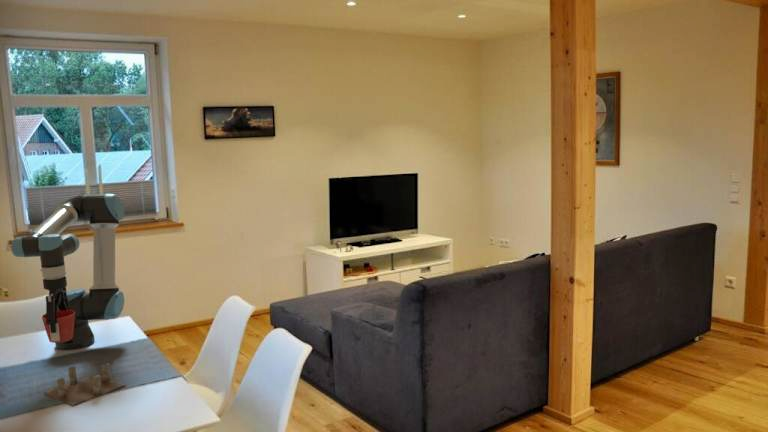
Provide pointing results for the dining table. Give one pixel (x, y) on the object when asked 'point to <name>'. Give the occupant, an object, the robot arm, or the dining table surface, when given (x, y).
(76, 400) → the plant stand
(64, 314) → the flower pot
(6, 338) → the dining table surface
